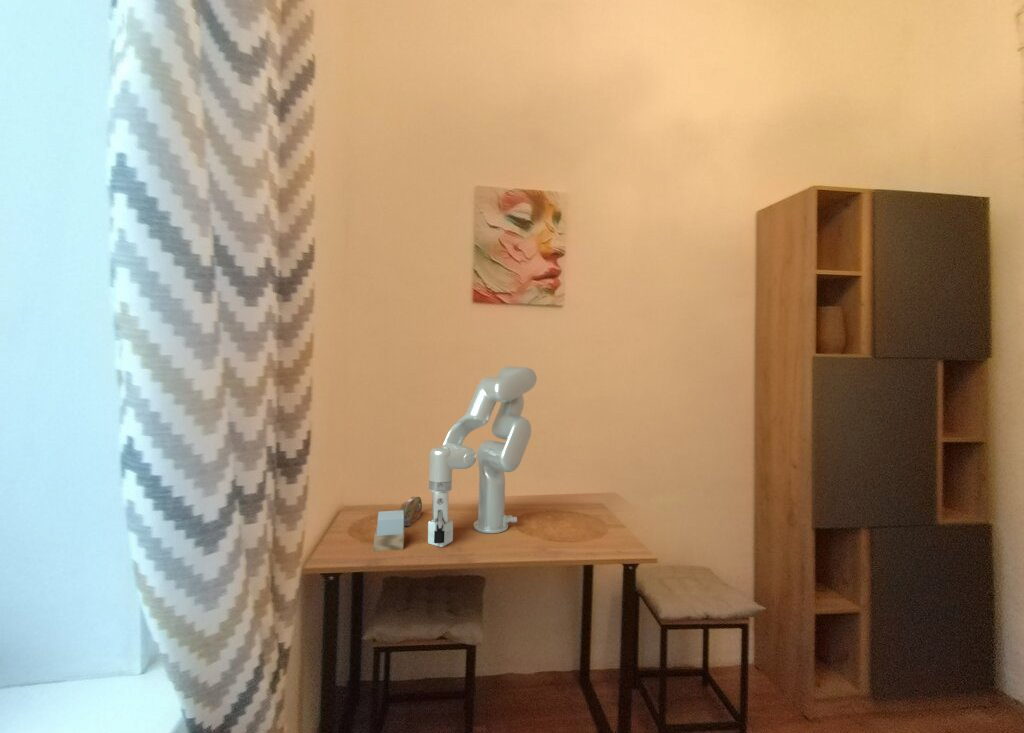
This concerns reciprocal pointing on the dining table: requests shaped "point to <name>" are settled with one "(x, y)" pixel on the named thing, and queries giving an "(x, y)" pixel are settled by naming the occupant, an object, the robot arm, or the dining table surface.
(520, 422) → the robot arm
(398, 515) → the tower top
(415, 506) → the tin
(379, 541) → the block
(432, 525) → the skincare box
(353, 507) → the dining table surface
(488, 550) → the dining table surface
